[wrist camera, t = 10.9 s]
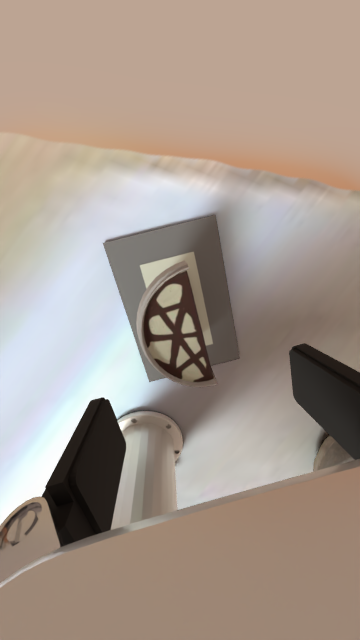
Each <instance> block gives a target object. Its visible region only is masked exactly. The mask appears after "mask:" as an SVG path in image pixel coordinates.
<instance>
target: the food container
mask: <svg viewBox="0 0 360 640" xmlns="http://www.w3.org/2000/svg"><path fill="white" fill-rule="evenodd" d="M188 269H189V267H188V264H187V263H186V261H182V262H179V263H177V264H174V265H173V266H171V267H169V268H167V269H166V270H164V271H163V272H162V273H161V274H159V275H158V276H157V277H156V278H155V279H154V280H153V281H152V282H151V284H150V285H149V286H148V288H147V289H146V291H145V292H144V294H143V296H142V299H141V301H140V303H139V308H138V312H137V321H136V324H137V334H138V337H139V341H140V345H141V347H142V350H143V352H144V354H145V356H146V357H147V359H148V360H149V362H150V363H151V364H152V365H153V367H154V368H155V369H156V370H158V371H159V372H160V373H161V374H162V375H164V376H165V377H167V378H168V379H170V380H172V381H174V382H176V383H179V384H182V385H186V386H191V387H209V386H214V385H218V383H217V381H216V379H215V376H214V374H213V371H212V369H211V365H210V361H209V357H208V353H207V349H206V345H205V340H204V336H203V332H202V328H201V324H200V320H199V317H198V312H197V308H196V304H195V300H194V296H193V292H192V288H191V284H190V280H189V276H188V273H187V271H186V270H188Z"/></svg>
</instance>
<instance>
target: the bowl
mask: <svg viewBox="0 0 360 640" xmlns="http://www.w3.org/2000/svg"><path fill="white" fill-rule="evenodd" d="M350 461H354V459H353V458H352V457H351V456H350V455H349V454H348V453H347V452H346V451H345V450H344V449H343V448H342V447H341V446H340V445H339V444H338V443H337V442H336V441H335V440H334V439H333V438H332V437H331V436H329V437H327V438H326V439H325V440H324V442H323V444H322V445H321V447H320V449H319V452H318V454H317V456H316V458H315V460H314V467H313V472H314V471H318V470H321V469H325V468H329V467H332V466H336V465H340V464H343V463H347V462H350Z"/></svg>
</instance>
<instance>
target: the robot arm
mask: <svg viewBox="0 0 360 640" xmlns="http://www.w3.org/2000/svg"><path fill="white" fill-rule="evenodd" d="M289 355H290V365H291V376H292V386H293V395H294V398H295V400H296V401H297V403H298V404H299V405H300V406H301V407H302V408H303V409H304V410H305V411H306V412H307V413H308V414H309V415H310V416H311V417H312V418H313V419H314V420H315V421H316V422H317V423H318V424H319V425H320V426H321V427H322V428H323V429H324V430H325V431H326V432H327V433H328V434H329V435H330V436H331V437H332V438H333V439H334V440H335V441H336V442H337V443H338V444H339V445H340V446H341V447H342V448H343V449H344V450H345V451H346V452H347V453H348V454H349V455H350V456H351V457H352V458H353V459H354V461H350V462H347V463H343V464H340V465H336V466H332V467H329V468H325V469H321V470H318V471H314V472H311V473H307V474H303V475H300V476H296V477H292V478H289V479H285V480H282V481H278V482H275V483H271V484H268V485H264V486H260V487H257V488H253V489H250V490H246V491H243V492H239V493H236V494H232V495H229V496H225V497H222V498H218V499H215V500H211V501H208V502H204V503H201V504H197V505H194V506H190V507H187V508H183V509H180V510H177V493H176V477H175V461H176V460H177V459H178V457H179V456H180V454H181V451H182V448H183V439H182V434H181V430H180V428H179V427H178V425H177V424H176V423H175V422H174V421H173V420H172V419H171V418H169V417H168V416H166V415H163V414H161V413H157V412H152V411H139V412H134V413H130V414H128V415H125V416H123V417H122V418H120V419H119V420H117V419H116V416H115V414H114V411H113V409H112V406H111V404H110V402H109V400H108V399H107V400H105V398H99V399H95V400H92V401H90V403H89V405H88V407H87V409H86V411H85V413H84V414H83V416H82V418H81V420H80V422H79V424H78V426H77V428H76V430H75V432H74V433H73V435H72V437H71V439H70V441H69V443H68V445H67V447H66V449H65V451H64V452H63V454H62V456H61V458H60V460H59V462H58V464H57V466H56V468H55V470H54V472H53V473H52V475H51V477H50V479H49V481H48V483H47V485H46V487H45V488H46V489H45V491H44V493H43V495H42V497H35V498H32V499H30V500H28V501H26V502H24V503H23V504H21V505H20V506H19V507H17V508H16V509H15V510H14V511H13V512H12V513H11V514H10V515H9V516H8V517H7V518H6V519H5V520H4V522H3V523H2V524H1V526H0V640H360V373H359V372H358V371H356V370H354V369H352V368H350V367H348V366H346V365H345V364H343V363H341V362H339V361H337V360H335V359H333V358H331V357H330V356H328V355H326V354H324V353H322V352H320V351H318V350H317V349H315V348H313V347H311V346H309V345H307V344H300V345H297V346H293V347H292V350H290V352H289Z"/></svg>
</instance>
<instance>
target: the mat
mask: <svg viewBox="0 0 360 640" xmlns="http://www.w3.org/2000/svg"><path fill="white" fill-rule="evenodd" d="M103 245H104V248H105V251H106V254H107V257H108V260H109V263H110V266H111V269H112V272H113V275H114V278H115V281H116V284H117V287H118V290H119V293H120V296H121V299H122V302H123V305H124V308H125V310H126V313H127V316H128V319H129V322H130V325H131V328H132V331H133V334H134V337H135V340H136V343H137V346H138V349H139V352H140V355H141V358H142V361H143V364H144V367H145V370H146V373H147V376H148V379H149V382H151V381H155V380H159V379H163V378H167V377H165V376H164V375H162V374H161V373H160V372H159V371H158V370H156V369H155V368H154V367H153V365H152V364H151V363H150V362H149V360H148V359H147V357H146V356H145V354H144V352H143V350H142V347H141V345H140V341H139V337H138V334H137V324H136V321H137V312H138V308H139V303H140V301H141V299H142V296H143V294H144V292H145V291H146V289H147V288H148V286H149V285H150V284H151V282H152V281H153V280H154V279H155V278H156V277H157V276H158V275H159V274H161V273H162V272H163V271H164V270H166V269H167V268H169V267H171V266H173V265H174V264H177V263H179V262H182V261H186V263H187V264H188V267H189V269H188V270H186V271H187V273H188V276H189V280H190V284H191V288H192V292H193V296H194V300H195V304H196V308H197V312H198V317H199V320H200V324H201V328H202V332H203V336H204V340H205V345H206V349H207V353H208V357H209V361H210V365H211V366H213V365H216V364H220V363H224V362H228V361H232V360H236V359H239V358H240V357H239V351H238V345H237V340H236V334H235V328H234V322H233V316H232V310H231V304H230V298H229V292H228V286H227V280H226V274H225V269H224V263H223V257H222V251H221V245H220V239H219V233H218V227H217V221H216V215H212V216H208V217H204V218H200V219H196V220H193V221H189V222H185V223H181V224H177V225H173V226H169V227H165V228H161V229H157V230H153V231H149V232H145V233H141V234H137V235H133V236H129V237H125V238H121V239H117V240H113V241H109V242H105V243H103Z"/></svg>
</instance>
